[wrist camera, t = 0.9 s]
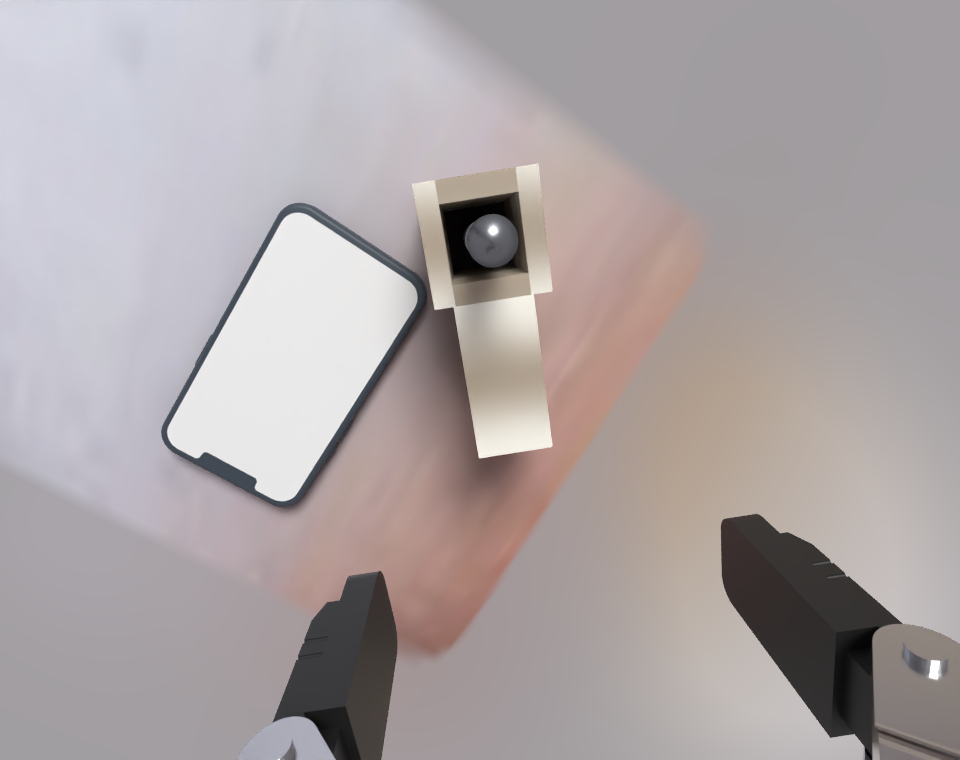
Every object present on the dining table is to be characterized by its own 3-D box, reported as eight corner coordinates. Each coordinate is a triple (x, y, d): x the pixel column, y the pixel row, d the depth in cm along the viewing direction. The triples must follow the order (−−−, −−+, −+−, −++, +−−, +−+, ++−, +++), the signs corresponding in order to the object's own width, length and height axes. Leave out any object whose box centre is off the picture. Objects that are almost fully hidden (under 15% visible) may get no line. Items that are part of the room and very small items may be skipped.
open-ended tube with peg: (423, 196, 27) (411, 184, 20) (518, 181, 27) (538, 163, 20) (460, 410, 30) (461, 461, 23) (544, 396, 30) (569, 444, 23)
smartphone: (296, 193, 27) (164, 431, 30) (287, 190, 25) (149, 442, 28) (437, 286, 29) (299, 503, 32) (437, 289, 27) (291, 517, 30)
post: (461, 224, 27) (462, 218, 16) (490, 220, 27) (514, 210, 16) (465, 255, 28) (471, 271, 16) (495, 250, 28) (521, 263, 16)
